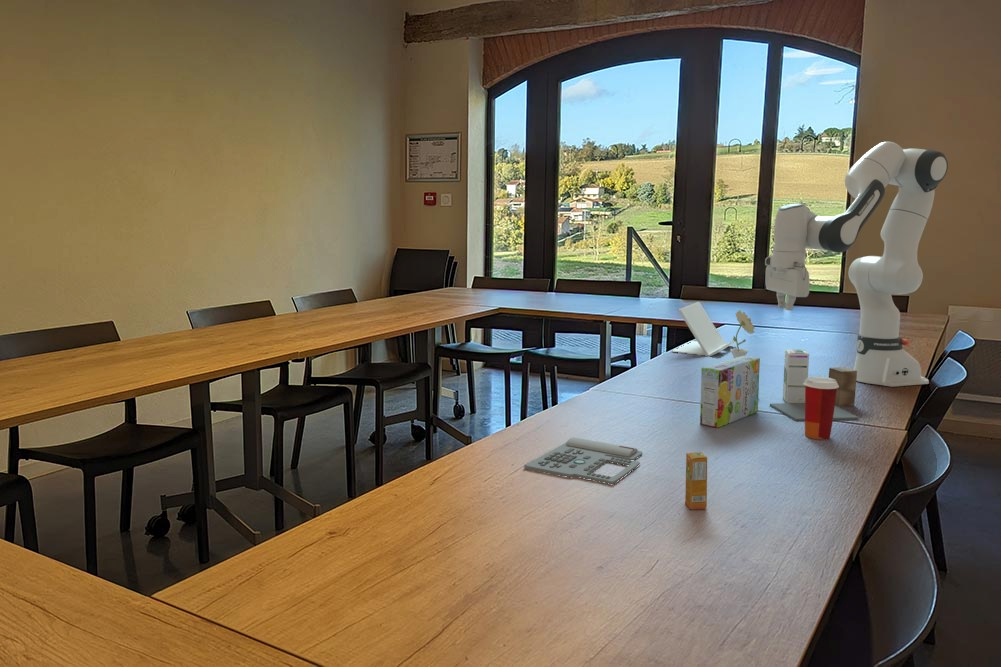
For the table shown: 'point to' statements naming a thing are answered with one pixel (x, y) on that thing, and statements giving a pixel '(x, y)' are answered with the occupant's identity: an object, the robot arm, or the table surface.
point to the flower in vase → (747, 327)
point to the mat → (798, 411)
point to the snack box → (729, 390)
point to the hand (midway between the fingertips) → (785, 309)
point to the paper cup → (819, 406)
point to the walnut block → (844, 385)
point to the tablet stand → (701, 332)
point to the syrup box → (795, 375)
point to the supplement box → (696, 480)
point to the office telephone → (585, 459)
